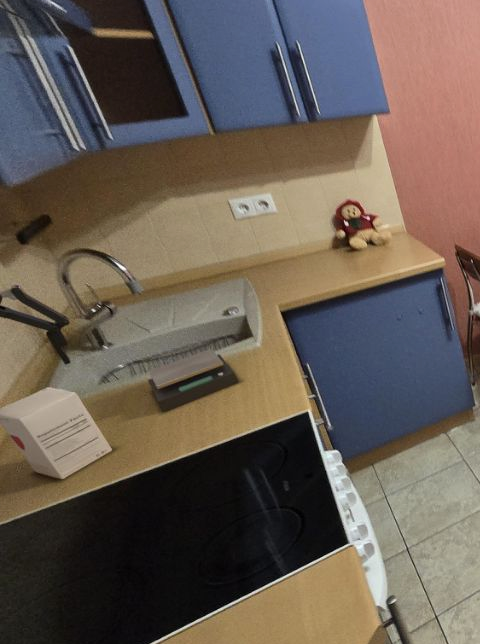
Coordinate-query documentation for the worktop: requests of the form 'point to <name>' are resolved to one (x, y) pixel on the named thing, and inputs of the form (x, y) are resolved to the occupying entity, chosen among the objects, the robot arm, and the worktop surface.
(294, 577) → the worktop surface
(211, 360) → the scale pan
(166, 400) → the scale base
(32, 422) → the rectangular carton
